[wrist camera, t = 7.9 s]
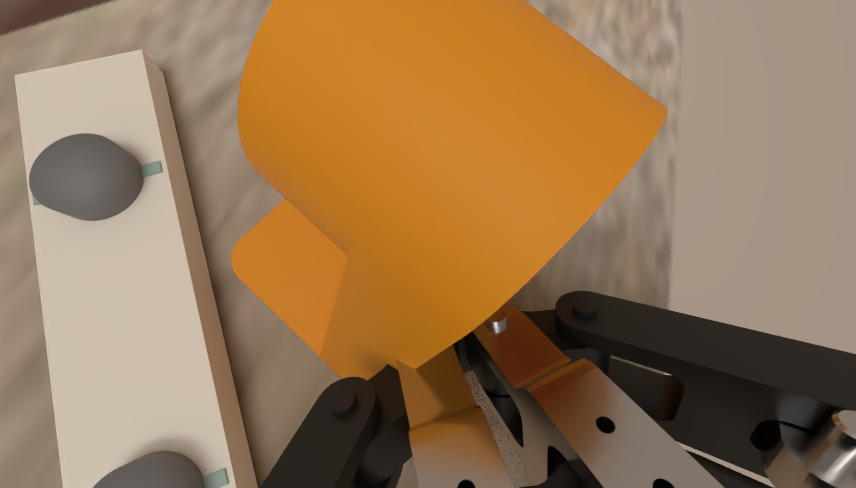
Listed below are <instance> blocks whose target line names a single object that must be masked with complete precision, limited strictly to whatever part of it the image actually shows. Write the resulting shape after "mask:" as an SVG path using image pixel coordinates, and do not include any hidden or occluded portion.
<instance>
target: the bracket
mask: <svg viewBox="0 0 856 488" xmlns="http://www.w3.org/2000/svg"><path fill="white" fill-rule="evenodd" d="M667 113H668V111H667V108H665V107H664V106H663V105H661V104H660V103H659V102H657V101H656V100H655V99H653V98H652V97H651V96H649V95H648V94H647V93H646V92H644V91H643V90H642V89H640V88H639V87H638V86H636V85H635V84H634V83H632V82H631V81H630V80H628V79H627V78H626V77H624V76H623V75H622V74H620V73H619V72H618V71H616V70H615V69H614V68H613V67H611V66H610V65H609V64H607V63H606V62H605V61H603V60H602V59H601V58H599V57H598V56H597V55H595V54H594V53H593V52H591V51H590V50H589V49H587V48H586V47H585V46H584V45H582V44H581V43H580V42H578V41H577V40H576V39H574V38H573V37H572V36H570V35H569V34H568V33H566V32H565V31H564V30H562V29H561V28H560V27H558V26H557V25H556V24H555V23H553V22H552V21H551V20H549V19H548V18H547V17H545V16H544V15H543V14H541V13H540V12H539V11H537V10H536V9H535V8H533V7H532V6H531V5H529V4H528V3H527V2H525V1H524V0H274V2H273V4H272V5H271V7H270V9H269V10H268V12H267V14H266V16H265V17H264V19H263V21H262V23H261V26H260V28H259V30H258V32H257V34H256V36H255V39H254V41H253V44H252V46H251V49H250V52H249V55H248V58H247V60H246V64H245V68H244V72H243V76H242V80H241V86H240V93H239V99H238V126H239V134H240V139H241V143H242V147H243V149H244V152H245V155H246V157H247V159H248V160H249V162H250V164H251V165H252V167H253V168H254V169H255V170H256V171H257V172H258V173H259V174H260V175H261V176H262V177H263V178H264V179H265V180H266V181H267V182H268V183H269V184H271V185H272V186H273V187H274V188H275V189H276V190H277V191H278V192H279V193H280V194H281V195H282V196H284V197H285V198H286V199H285V200H284V201H283V202H282V203H281V204H279V205H278V206H277V207H276V208H275V209H274V210H273V211H271V212H270V213H269V214H268V215H267V216H266V217H265V218H264V219H262V220H261V221H260V222H259V223H258V224H257V225H256V226H254V227H253V228H252V229H251V230H250V231H249V232H248V233H247V234H245V235H244V236H243V237H242V238H241V239H240V240H239V241H238V242H237V244H236V245H235V247H234V249H233V251H232V255H231V265H232V268H233V271H234V273H235V274H236V276H237V277H238V278H239V279H240V280H241V281H242V282H243V283H244V284H245V285H246V286H247V287H248V288H249V289H251V290H252V291H253V292H254V293H255V294H256V295H257V296H258V297H259V298H260V299H261V300H262V301H263V302H264V303H265V304H266V305H267V306H268V307H269V308H270V309H271V310H272V311H273V312H274V313H275V314H276V315H277V316H278V317H279V318H280V319H281V320H282V321H283V322H284V323H285V324H286V325H287V326H288V327H289V328H290V329H291V330H293V331H294V332H295V333H296V334H297V335H298V336H299V337H300V338H301V339H302V340H303V341H304V342H305V343H306V344H307V345H308V346H309V347H310V348H311V349H312V350H313V351H314V352H315V353H316V354H317V355H318V356H319V357H320V358H321V359H322V360H323V361H324V362H325V363H326V364H327V365H328V366H329V367H330V368H331V369H332V370H333V371H335V372H336V373H337V374H338V375H339V376H340V377H341V378H342V379H343V378H347V377H360V378H364V379H365V380H369V379H370V378H371V377H373V376H374V375H375V374H377V373H378V372H379V371H381V370H382V369H383V368H384V367H385V366H386V365H387V364H388V365H390V366H392V367H394V368H395V369H397V370H398V366H397V361H396V359H398V360H399V361H401V362H403V363H405V364H406V365H408V366H410V367H412V368H414V369H416V368H418V367H419V366H421V365H422V364H424V363H425V362H427V361H428V360H430V359H431V358H433V357H434V356H436V355H437V354H439V353H440V352H442V351H443V350H445V349H446V348H448V347H449V346H451V345H452V344H454V343H455V342H457V341H458V340H460V339H461V338H463V337H464V336H466V335H467V334H468V333H470V332H471V331H473V330H474V329H475V328H476V327H478V326H479V325H480V324H481V323H483V322H484V321H485V320H486V319H487V318H489V317H490V316H491V315H492V314H493V313H494V312H496V311H497V310H498V309H499V308H500V307H501V306H502V305H503V304H505V303H506V302H507V301H508V300H509V299H510V298H511V297H512V296H513V295H514V294H515V293H517V292H518V291H519V290H520V289H521V288H522V287H523V286H524V285H525V284H526V283H527V282H528V281H529V280H530V279H531V278H532V277H533V276H534V275H535V274H536V273H537V272H538V271H539V270H540V269H541V268H542V267H543V266H544V265H545V264H546V263H547V262H548V261H549V260H550V259H551V258H552V257H553V256H554V255H555V254H556V253H557V252H558V251H559V250H560V249H561V248H562V247H563V246H564V245H565V244H566V243H567V242H568V241H569V239H570V238H571V237H572V236H573V235H574V234H575V233H576V232H577V231H578V230H579V229H580V228H581V227H582V226H583V224H584V223H585V222H586V221H587V220H588V219H589V218H590V217H591V216H592V214H593V213H594V212H595V211H596V210H597V209H598V208H599V207H600V205H601V204H602V203H603V202H604V201H605V200H606V199H607V197H608V196H609V195H610V194H611V193H612V192H613V190H614V189H615V188H616V187H617V186H618V185H619V183H620V182H621V181H622V180H623V178H624V177H625V176H626V175H627V174H628V172H629V171H630V170H631V169H632V167H633V166H634V165H635V164H636V162H637V161H638V160H639V158H640V157H641V156H642V154H643V153H644V152H645V150H646V149H647V148H648V146H649V145H650V143H651V142H652V140H653V139H654V138H655V136H656V135H657V133H658V131H659V130H660V128H661V127H662V125H663V123H664V121H665V119H666V116H667Z"/></svg>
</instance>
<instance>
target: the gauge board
mask: <svg viewBox="0 0 856 488" xmlns="http://www.w3.org/2000/svg"><path fill="white" fill-rule="evenodd" d="M15 84H16V92H17V101H18V109H19V118H20V126H21V135H22V143H23V152H24V160H25V169H26V177H27V186H28V194H29V203H30V211H31V220H32V228H33V237H34V245H35V254H36V263H37V271H38V280H39V288H40V297H41V305H42V314H43V322H44V331H45V339H46V348H47V356H48V365H49V373H50V382H51V390H52V399H53V407H54V416H55V424H56V433H57V441H58V450H59V458H60V467H61V475H62V484H63V488H258V485H257V481H256V477H255V472H254V468H253V464H252V459H251V455H250V450H249V446H248V442H247V437H246V433H245V429H244V424H243V420H242V415H241V411H240V407H239V402H238V398H237V394H236V389H235V385H234V380H233V376H232V372H231V367H230V363H229V359H228V354H227V350H226V345H225V341H224V337H223V332H222V328H221V324H220V319H219V315H218V310H217V306H216V302H215V297H214V293H213V289H212V284H211V280H210V275H209V271H208V267H207V262H206V258H205V254H204V249H203V245H202V240H201V236H200V232H199V227H198V223H197V219H196V214H195V210H194V205H193V201H192V197H191V192H190V188H189V184H188V179H187V175H186V170H185V166H184V162H183V157H182V153H181V149H180V144H179V140H178V135H177V131H176V127H175V122H174V118H173V114H172V109H171V105H170V100H169V96H168V92H167V87H166V83H165V79H164V74H163V73H162V72H161V71H160V69H159V68H158V67H157V66H156V65H155V64H154V63H153V62H152V60H151V59H150V58H149V57H148V56H147V55H146V54H145V53H144V51H143V50H142V49H141V50H136V51H131V52H126V53H121V54H116V55H111V56H106V57H102V58H97V59H92V60H87V61H82V62H77V63H72V64H67V65H62V66H57V67H52V68H47V69H42V70H38V71H33V72H28V73H23V74H18V75H15Z"/></svg>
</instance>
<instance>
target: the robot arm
mask: <svg viewBox="0 0 856 488" xmlns="http://www.w3.org/2000/svg"><path fill="white" fill-rule="evenodd" d="M611 355H613V356H616V357H619V358H622V359H625V360H628V361H631V362H635V363H638V364H641V365H644V366H647V367H650V368H653V369H656V370H660V371H663V372H666V373H669V374H671V375H662V374H659V373H656V372H653V371H650V370H647V369H644V368H641V367H637V366H634V365H631V364H628V363H625V362H622V361H619V360H616V359H613V358H611ZM396 361H397V366H398V370H397V369H395V368H394V367H392V366H390V365H388V364H387V365H386V366H385V367H384V368H383V369H382V370H381V371H379V372H378V373H377V374H375V375H374V376H373V377H371V378H370V379H369V380H365V379H364V378H360V377H347V378H343V379H340V380H338V381H336V382H334V383H333V384H331V385H330V386H329V387H327V388H326V389H325V390H324V391H323V392H322V394H321V395H320V396H319V398H318V399H317V401H316V402H315V404H314V405H313V407H312V409H311V410H310V412H309V413H308V415H307V416H306V418H305V419H304V421H303V423H302V424H301V426H300V427H299V429H298V430H297V432H296V433H295V435H294V436H293V438H292V440H291V441H290V443H289V444H288V446H287V447H286V449H285V450H284V452H283V454H282V455H281V457H280V458H279V460H278V461H277V463H276V464H275V466H274V468H273V469H272V471H271V472H270V474H269V475H268V477H267V478H266V480H265V482H264V483H263V485H262V486H261V488H396V486H397V483H398V481H399V478H400V475H401V472H402V468H403V464H404V463H405V462H406V461H407V460H409V459H410V458H411V457H412V456H413V460H414V465H415V470H416V476H417V481H418V486H419V488H515V487H514V485H513V483H512V480H511V478H510V475H509V473H508V471H507V468H506V466H505V463H504V461H503V458H502V456H501V454H500V451H499V449H498V446H497V444H496V441H495V439H494V437H493V434H492V432H491V429H490V427H489V425H488V422H487V420H486V417H485V415H484V413H483V411H482V409H481V407H480V406H477V405H476V403H475V400H474V398H473V395H472V393H471V390H470V388H469V386H468V383H467V381H466V378H465V376H464V373H465V372H468V371H470V370H473V371H474V373H475V375H476V377H477V379H478V384H479V389H480V393H481V395H482V396H483V398H484V400H485V401H486V403H487V405H488V406H489V408H490V409H491V411H492V413H493V414H494V416H495V417H496V419H497V421H498V422H499V424H500V425H501V427H502V429H503V430H504V432H505V433H506V435H507V437H508V438H509V440H510V441H511V443H512V445H513V446H514V448H515V449H516V451H517V453H518V455H519V456H520V458H521V461H522V463H523V465H524V468H525V471H526V474H527V476H528V478H529V480H530V483H531V485H532V486H528V487H521V488H773V487H770V486H768V485H766V484H764V483H761V482H759V481H757V480H754V479H752V478H750V477H748V476H745V475H743V474H741V473H739V472H736V471H734V470H732V469H730V468H727V467H725V466H723V465H720V464H718V463H716V462H714V461H711V460H709V459H707V458H705V457H702V456H700V455H698V454H695V453H692V452H690V451H687V450H684V449H683V448H682V447H681V446H680V445H679V444H678V443H677V442H679V443H682V444H685V445H687V446H689V447H692V448H694V449H697V450H699V451H702V452H704V453H707V454H709V455H712V456H714V457H716V458H719V459H721V460H724V461H726V462H729V463H731V464H734V465H736V466H738V467H741V468H743V469H746V470H749V471H751V472H753V473H756V474H758V475H761V476H763V477H765V478H768V479H770V481H771V482H772V484H773V485H774V486H775V488H856V354H852V353H848V352H844V351H840V350H836V349H831V348H827V347H823V346H819V345H814V344H810V343H806V342H802V341H797V340H793V339H789V338H785V337H780V336H775V335H772V334H767V333H763V332H759V331H755V330H751V329H746V328H742V327H738V326H734V325H729V324H725V323H721V322H717V321H712V320H708V319H704V318H700V317H696V316H691V315H687V314H683V313H678V312H674V311H670V310H666V309H662V308H657V307H653V306H649V305H645V304H640V303H636V302H632V301H628V300H623V299H619V298H615V297H611V296H606V295H602V294H598V293H594V292H589V291H574V292H570V293H567V294H565V295H563V296H561V297H560V298H559V299H558V301H557V303H556V309H553V310H544V311H533V312H527V311H521V310H520V309H519V308H518V307H516V306H515V305H513V304H512V303H509V302H506V303H505V304H503V305H502V306H501V307H500V308H499V309H498V310H497V311H496V312H494V313H493V314H492V315H491V316H490V317H489V318H487V319H486V320H485V321H484V322H483V323H481V324H480V325H479V326H478V327H476V328H475V329H474V330H473V331H471V332H470V333H468V334H467V335H466V336H464V337H463V338H461V339H460V340H458V341H457V342H455V343H454V344H452V345H451V346H449V347H448V348H446V349H445V350H443V351H442V352H440V353H439V354H437V355H436V356H434V357H433V358H431V359H430V360H428V361H427V362H425V363H424V364H422V365H421V366H419V367H418V368H416V369H414V368H412V367H410V366H408V365H406V364H405V363H403V362H401V361H399V360H398V359H396ZM676 441H677V442H676Z"/></svg>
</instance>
